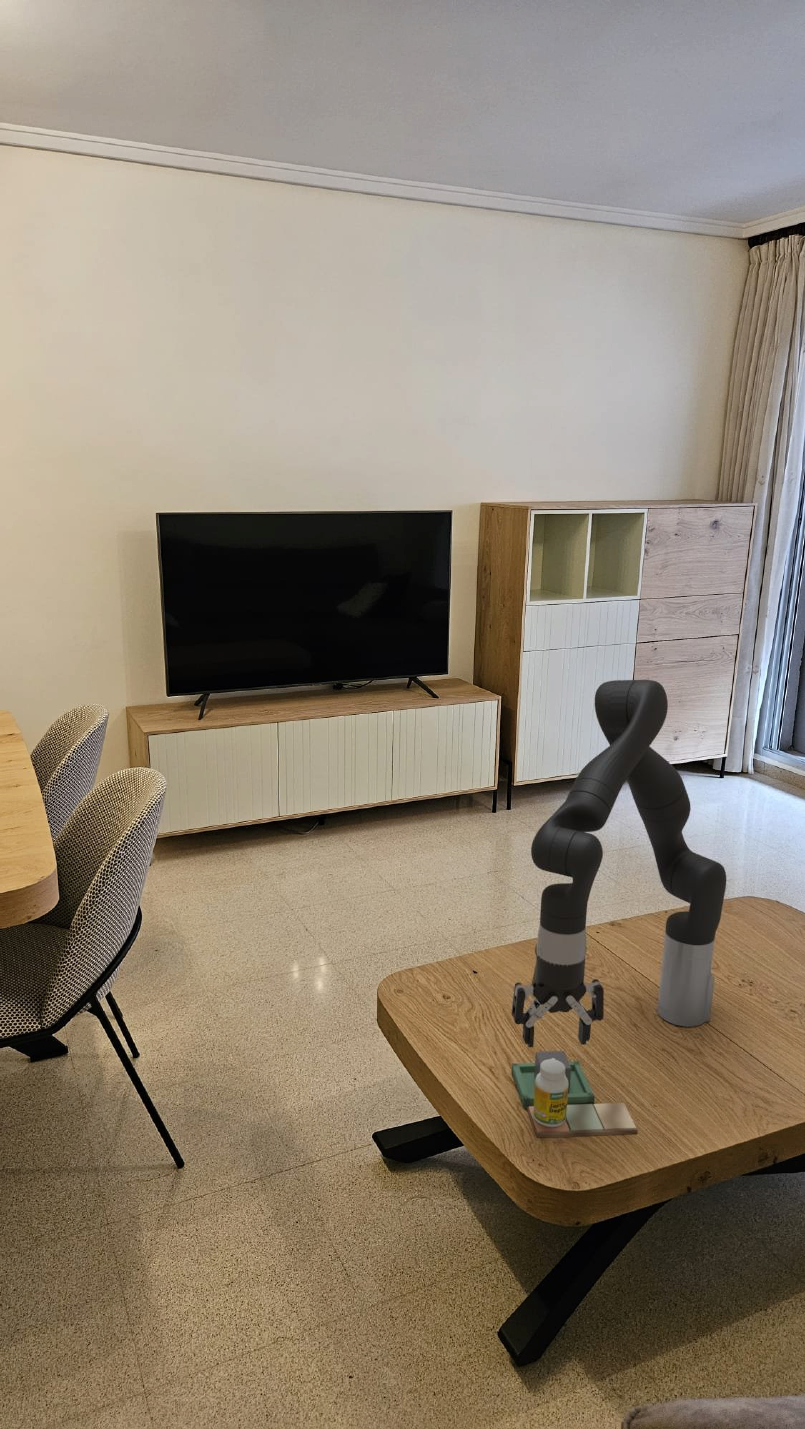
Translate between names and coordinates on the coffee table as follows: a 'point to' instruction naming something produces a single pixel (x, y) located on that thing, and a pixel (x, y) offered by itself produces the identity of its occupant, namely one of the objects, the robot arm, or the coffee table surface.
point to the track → (589, 1121)
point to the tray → (526, 1084)
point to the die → (556, 1056)
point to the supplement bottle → (551, 1094)
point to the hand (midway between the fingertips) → (555, 1043)
